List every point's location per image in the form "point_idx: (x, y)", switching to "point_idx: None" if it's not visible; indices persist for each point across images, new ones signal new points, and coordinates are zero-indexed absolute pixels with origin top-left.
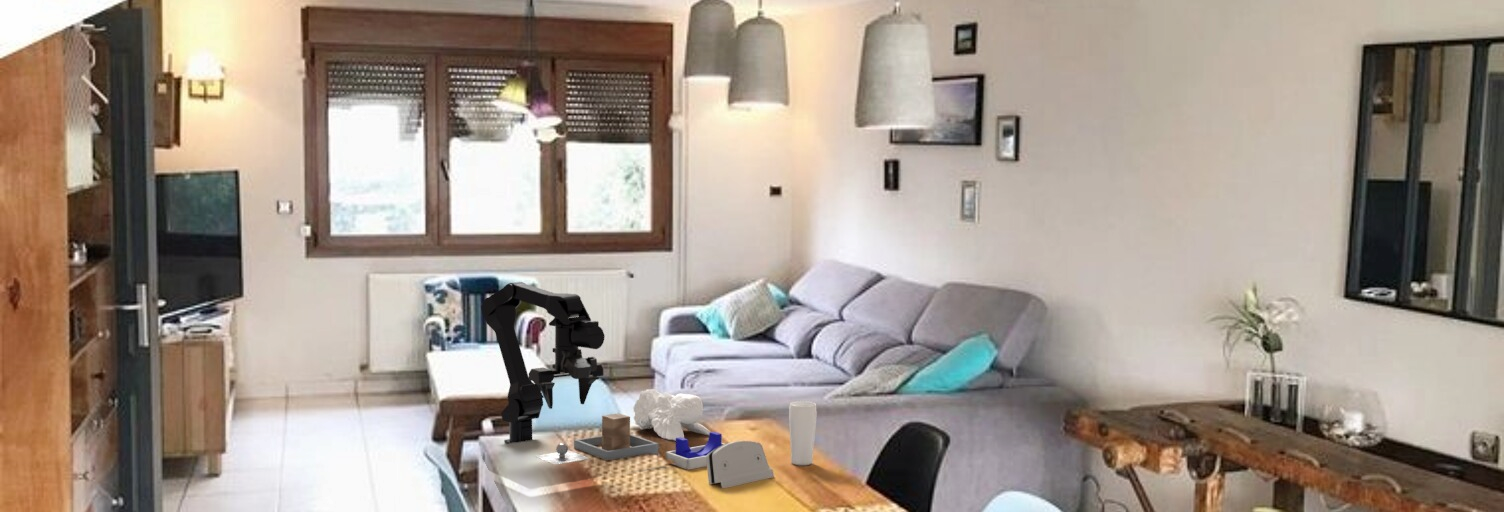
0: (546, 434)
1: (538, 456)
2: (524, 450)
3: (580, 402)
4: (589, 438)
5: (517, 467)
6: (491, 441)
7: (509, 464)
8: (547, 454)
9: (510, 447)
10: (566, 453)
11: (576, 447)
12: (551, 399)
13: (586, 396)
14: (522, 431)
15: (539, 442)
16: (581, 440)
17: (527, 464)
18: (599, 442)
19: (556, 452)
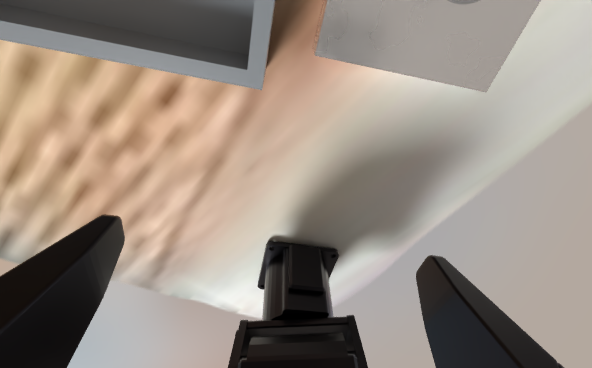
0: (183, 284)
1: (485, 71)
2: (350, 214)
3: (120, 251)
4: (175, 54)
5: (577, 66)
6: (332, 306)
7: (539, 122)
8: (434, 69)
9: (348, 254)
10: (370, 13)
11: (267, 54)
12: (501, 325)
13: (25, 263)
14: (323, 282)
15: (252, 246)
16: (228, 65)
17: (516, 73)
18: (119, 35)
19: (382, 66)
